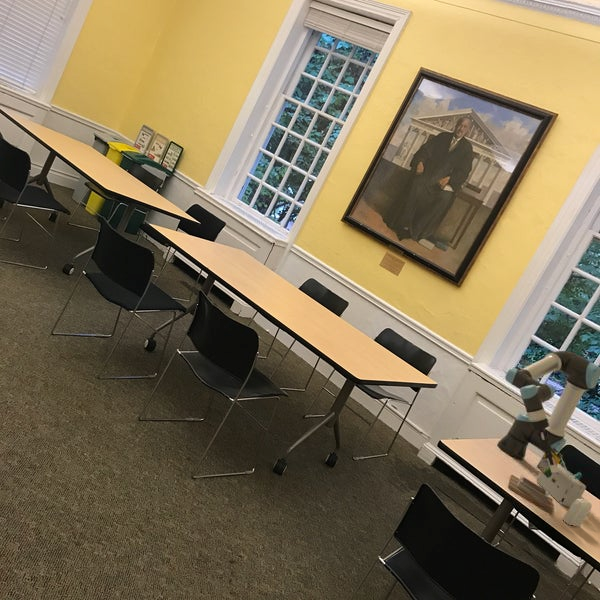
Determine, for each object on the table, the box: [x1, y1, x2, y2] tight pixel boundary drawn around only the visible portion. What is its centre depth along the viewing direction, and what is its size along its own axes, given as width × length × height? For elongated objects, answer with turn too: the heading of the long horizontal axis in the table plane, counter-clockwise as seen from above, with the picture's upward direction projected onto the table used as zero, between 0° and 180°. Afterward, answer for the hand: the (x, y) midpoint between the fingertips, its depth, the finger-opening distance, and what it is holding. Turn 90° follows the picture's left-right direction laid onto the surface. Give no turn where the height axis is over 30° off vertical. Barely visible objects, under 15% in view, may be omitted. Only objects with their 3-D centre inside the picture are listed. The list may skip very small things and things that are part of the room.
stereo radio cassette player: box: [536, 449, 587, 509], centre depth 280 cm, size 21×8×20 cm, turn 16°
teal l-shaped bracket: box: [559, 461, 583, 481], centre depth 312 cm, size 18×11×10 cm, turn 157°
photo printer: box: [562, 498, 593, 527], centre depth 253 cm, size 10×4×12 cm, turn 119°
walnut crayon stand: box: [507, 474, 554, 515], centre depth 265 cm, size 18×20×4 cm
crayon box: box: [536, 448, 564, 477], centre depth 262 cm, size 7×3×12 cm, turn 10°
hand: (554, 469), depth 261 cm, fingers closed on crayon box, 7 cm apart
